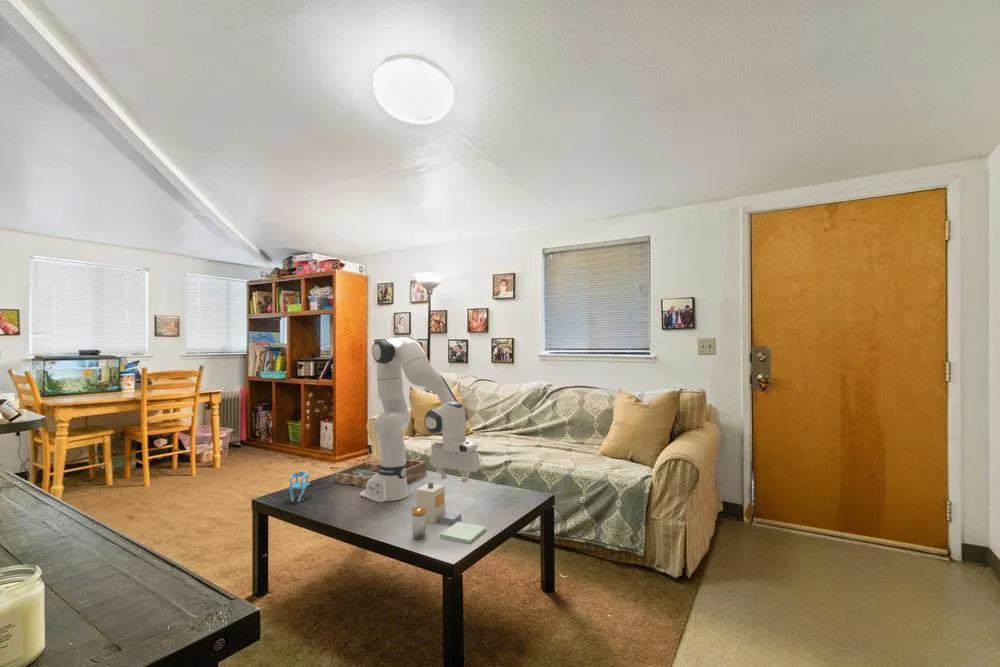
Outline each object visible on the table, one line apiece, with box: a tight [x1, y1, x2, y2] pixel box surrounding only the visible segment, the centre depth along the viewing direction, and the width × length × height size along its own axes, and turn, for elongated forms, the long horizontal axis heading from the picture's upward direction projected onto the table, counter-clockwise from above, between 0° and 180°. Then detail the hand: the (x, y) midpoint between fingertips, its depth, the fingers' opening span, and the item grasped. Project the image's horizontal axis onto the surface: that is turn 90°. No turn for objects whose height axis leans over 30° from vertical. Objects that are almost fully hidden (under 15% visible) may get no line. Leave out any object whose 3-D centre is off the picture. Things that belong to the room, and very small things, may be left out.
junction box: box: [415, 482, 446, 524], centre depth 177 cm, size 8×8×14 cm
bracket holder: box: [406, 459, 427, 485], centre depth 227 cm, size 11×18×7 cm, turn 154°
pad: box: [439, 521, 487, 544], centre depth 163 cm, size 12×12×1 cm
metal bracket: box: [353, 469, 376, 477], centre depth 229 cm, size 14×6×15 cm
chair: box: [287, 471, 311, 502], centre depth 198 cm, size 8×8×12 cm
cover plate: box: [439, 510, 462, 526], centre depth 175 cm, size 6×6×2 cm
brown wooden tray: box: [334, 462, 381, 488], centre depth 229 cm, size 21×21×4 cm
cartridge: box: [411, 506, 426, 541], centre depth 161 cm, size 5×5×10 cm
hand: (454, 480), depth 173 cm, fingers open, 8 cm apart
